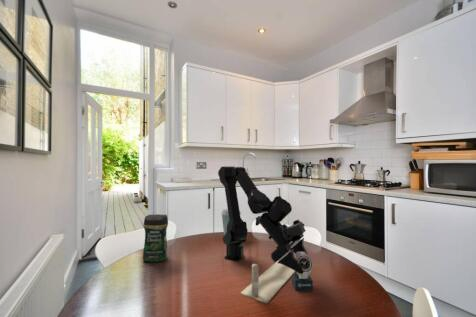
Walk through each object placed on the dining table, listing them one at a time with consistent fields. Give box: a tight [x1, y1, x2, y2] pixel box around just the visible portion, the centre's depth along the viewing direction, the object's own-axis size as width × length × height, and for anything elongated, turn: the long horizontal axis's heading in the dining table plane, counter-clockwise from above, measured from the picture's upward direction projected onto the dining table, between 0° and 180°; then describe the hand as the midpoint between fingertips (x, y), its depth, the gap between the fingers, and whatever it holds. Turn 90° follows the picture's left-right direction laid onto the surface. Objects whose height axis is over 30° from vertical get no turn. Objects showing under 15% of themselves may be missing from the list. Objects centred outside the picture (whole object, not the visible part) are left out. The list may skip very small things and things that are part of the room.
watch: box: [291, 252, 314, 291], centre depth 76 cm, size 6×8×11 cm
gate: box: [240, 260, 296, 304], centre depth 81 cm, size 9×28×10 cm, turn 147°
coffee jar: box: [142, 213, 169, 263], centre depth 98 cm, size 10×8×19 cm
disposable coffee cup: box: [220, 208, 242, 236], centre depth 128 cm, size 11×11×15 cm
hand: (306, 267), depth 75 cm, fingers open, 9 cm apart
